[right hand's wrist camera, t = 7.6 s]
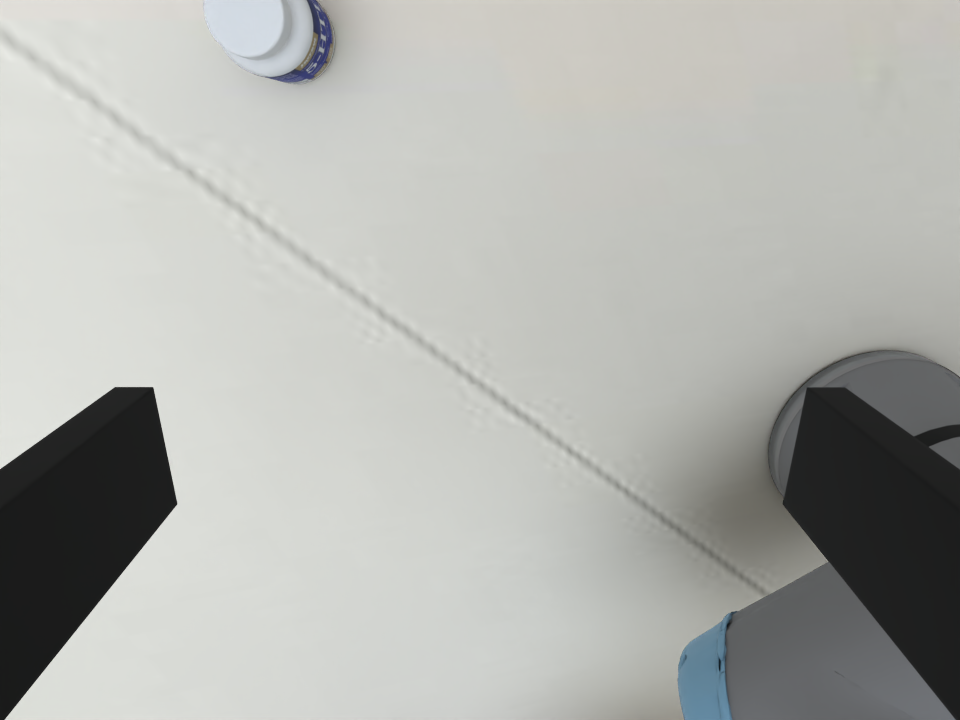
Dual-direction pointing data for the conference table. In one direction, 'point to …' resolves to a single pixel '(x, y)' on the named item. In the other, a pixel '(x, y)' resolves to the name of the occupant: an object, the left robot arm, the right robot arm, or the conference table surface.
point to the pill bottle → (274, 36)
